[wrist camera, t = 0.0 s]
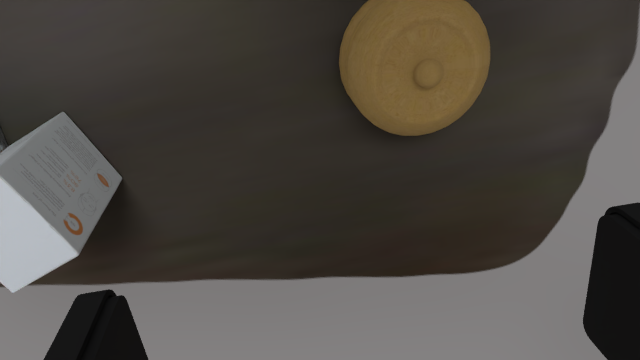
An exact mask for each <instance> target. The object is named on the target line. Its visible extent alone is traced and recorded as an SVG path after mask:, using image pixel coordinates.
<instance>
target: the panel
mask: <svg viewBox="0 0 640 360" xmlns="http://www.w3.org/2000/svg"><path fill="white" fill-rule="evenodd" d="M7 147H8V144H7V142H6V139H5V137H4V135H3V132H2V130H1V128H0V153H1V152H2V151H3V150H5V149H6V148H7Z"/></svg>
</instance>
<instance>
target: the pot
mask: <svg viewBox="0 0 640 360" xmlns="http://www.w3.org/2000/svg"><path fill="white" fill-rule="evenodd" d="M489 65H490V42H489V38H488V34H487V30H486V27H485V25H484V24H483V22H482V20H481V18H480V16H479V14H478V13H477V12H476V11H475V10H474V9H473V8H472V7H471V6H470V4H469V3H468V2H466V1H464V0H369V1H367V2H366V3H365V4H363V6H362V7H361V8H360V9H359V10H358V11H357V13H356V14H355V15H354V16H353V17H352V19H351V21H350V23H349V25H348V27H347V28H346V30H345V32H344V36H343V39H342V43H341V46H340V56H339V68H340V75H341V80H342V82H343V85H344V87H345V90H346V92H347V94H348V95H349V97H350V98H351V100H352V101H353V102H354V104H355V105H356V106H357V108H358V109H359V111H360V112H361V113H362V114H363V115H364V116H365V117H366V118H367V119H368V120H369V121H370V122H372V123H373V124H374V125H375V126H377V127H379V128H381V129H383V130H385V131H387V132H389V133H393V134H398V135H402V136H419V135H424V134H428V133H433V132H435V131H438V130H440V129H442V128H445V127H447V126H449V125H450V124H451V123H453V122H454V121H456V120H457V119H459V118H460V117H461V116H462V115H463V114H464V113H465V112H466V111H467V110H468V109H469V108H470V107H471V106H472V104H473V103H474V101H475V100H476V98H477V97H478V95H479V94H480V93H481V90H482V88H483V86H484V83H485V81H486V79H487V75H488V70H489Z"/></svg>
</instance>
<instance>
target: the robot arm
mask: <svg viewBox="0 0 640 360" xmlns="http://www.w3.org/2000/svg"><path fill="white" fill-rule="evenodd" d="M583 324H584V329H585V332H586V333H587V336H588V337H589V338H590V340H591V341H592V342H593V343H594V344H595V346H596V347H597V348H598V349H599V350H600V351H601V353H602V354H603V355H604V356H605V357H606V358H607V359H608V360H640V203H633V204H627V205H621V206H614V207H611V208H609V209H608V210H607V211H606V213H605V215H604V216H602V217H601V218H600V219H599V221H598V226H597V233H596V239H595V245H594V252H593V259H592V265H591V271H590V278H589V284H588V291H587V297H586V304H585V310H584V317H583ZM44 360H148V357H147V355H146V352H145V349H144V347H143V344H142V341H141V338H140V335H139V333H138V330H137V327H136V324H135V322H134V319H133V316H132V313H131V311H130V308H129V305H128V303H127V300H126V298H125V297H124V296H122V295H121V296H116V294H115V293H114V292H113V291H112V290H103V291H97V292H91V293H85V294H80V295H78V296H77V297H76V299H75V301H74V302H73V304H72V306H71V308H70V310H69V312H68V314H67V316H66V318H65V320H64V321H63V323H62V326H61V327H60V329H59V331H58V333H57V335H56V337H55V339H54V341H53V343H52V345H51V347H50V348H49V351H48V352H47V355H46V356H45V358H44Z"/></svg>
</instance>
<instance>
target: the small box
mask: <svg viewBox="0 0 640 360" xmlns="http://www.w3.org/2000/svg"><path fill="white" fill-rule="evenodd" d="M121 180H122V177H121V176H120V175H119V173H118V172H117V171H116V170H115V169H114V168H113V167H112V165H111V164H110V163H109V162H108V161H107V160H106V159H105V157H104V156H103V155H102V154H101V153H100V152H99V151H98V150H97V148H96V147H95V146H94V145H93V144H92V143H91V142H90V140H89V139H88V138H87V137H86V136H85V135H84V134H83V133H82V131H81V130H80V129H79V128H78V127H77V126H76V125H75V124H74V122H73V121H72V120H71V119H70V118H69V117H68V116H67V115H66V114H65V112H61V113H60V114H58V115H57V116H55V117H54V118H52V119H50V120H49V121H47V122H46V123H44V124H43V125H41V126H40V127H38V128H36V129H35V130H33V131H32V132H30V133H29V134H27V135H26V136H24V137H22V138H21V139H19V140H18V141H16V142H14V143H13V144H11V145H10V146H8V147H7V148H6V149H5V150H3V151H2V152H1V153H0V283H1V284H3V285H4V286H5V287H6V288H7V289H8V290H9V291H11V292H12V293H14V292H16V291H18V290H19V289H21V288H23V287H25V286H26V285H28V284H30V283H32V282H33V281H35V280H37V279H39V278H40V277H42V276H44V275H45V274H47V273H49V272H51V271H52V270H54V269H56V268H58V267H59V266H61V265H63V264H65V263H66V262H68V261H70V260H72V259H73V258H75V257H77V256H79V254H80V252H81V250H82V248H83V246H84V245H85V243H86V241H87V239H88V238H89V236H90V234H91V232H92V231H93V229H94V227H95V226H96V224H97V222H98V220H99V219H100V217H101V215H102V213H103V212H104V210H105V208H106V207H107V205H108V203H109V201H110V200H111V198H112V196H113V195H114V193H115V191H116V189H117V187H118V186H119V184H120V182H121Z"/></svg>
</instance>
